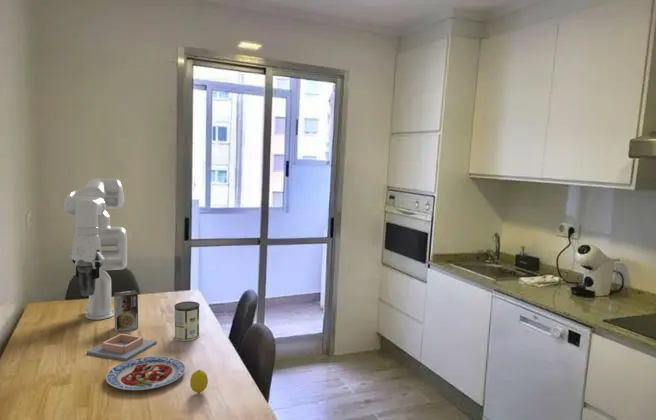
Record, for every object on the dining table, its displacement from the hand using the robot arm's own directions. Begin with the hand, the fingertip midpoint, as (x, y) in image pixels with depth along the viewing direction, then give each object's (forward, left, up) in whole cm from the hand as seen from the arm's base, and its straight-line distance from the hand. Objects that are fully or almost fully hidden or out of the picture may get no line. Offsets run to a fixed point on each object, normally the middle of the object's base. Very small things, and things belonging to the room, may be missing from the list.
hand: (87, 277), depth 178 cm
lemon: (+57, -14, -30) cm, 66 cm away
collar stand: (+10, +7, -30) cm, 32 cm away
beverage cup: (0, 0, -7) cm, 7 cm away
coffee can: (+26, +27, -30) cm, 48 cm away
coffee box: (-4, +26, -30) cm, 39 cm away
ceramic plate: (+34, -10, -30) cm, 47 cm away
